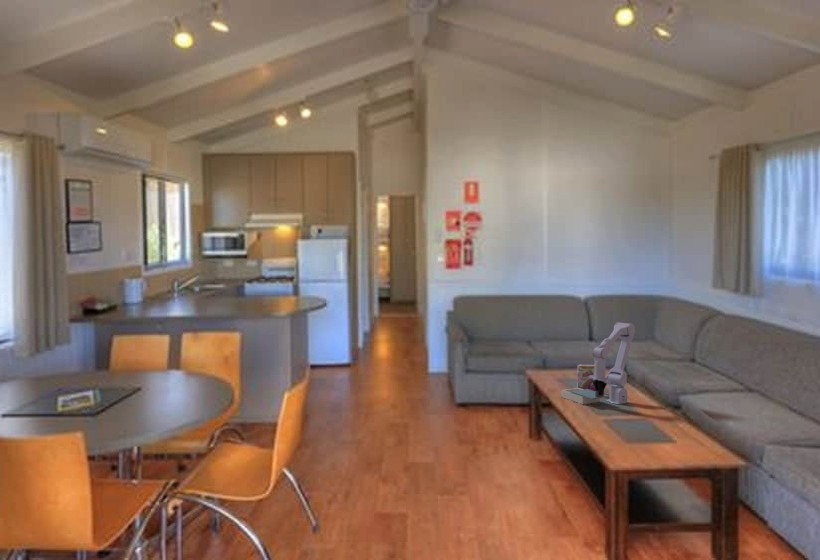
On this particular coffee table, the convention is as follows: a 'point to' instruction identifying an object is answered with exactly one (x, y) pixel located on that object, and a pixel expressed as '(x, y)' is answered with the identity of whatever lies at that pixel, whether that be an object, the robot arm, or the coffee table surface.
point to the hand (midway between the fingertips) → (599, 394)
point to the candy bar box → (585, 377)
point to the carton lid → (589, 394)
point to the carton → (578, 397)
